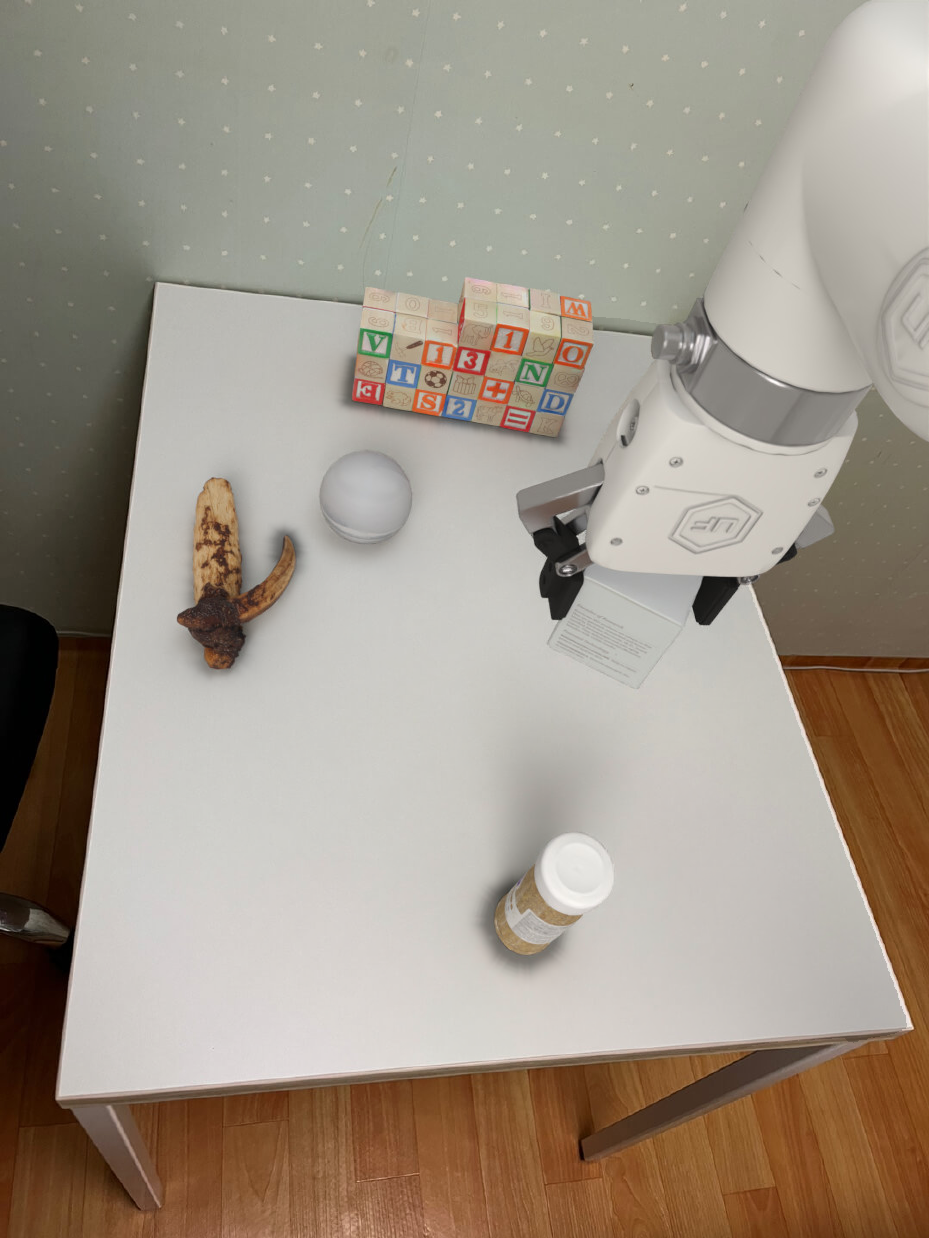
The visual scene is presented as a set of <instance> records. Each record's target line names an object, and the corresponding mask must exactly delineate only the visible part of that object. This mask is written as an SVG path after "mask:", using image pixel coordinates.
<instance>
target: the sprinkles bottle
mask: <svg viewBox="0 0 929 1238" xmlns="http://www.w3.org/2000/svg"><path fill="white" fill-rule="evenodd" d="M615 882H616V868H615V863H614V860H613V858H612V856H611V854H610V852H609V850H608V849H607V848H606V847H605V846H604V844H603V843H602V842H601V841H600V840H598V838H596V837H594V836H592V835H590V834H588V833H585V832H580V831H568V832H567V831H566V832H564V833H563V832H562V833H560V834H558V835H556V836H554V837H553V838H551V840H550V841H548V843H547V844H546V845H545V846H544V847H543V848H542V850H541V851H540V852H539V854H538V855H537V857H536V860H535V863H534V864H533V865H532V866H531V867H529V868H528V870H527V871H526V872H525V873H524V874H523V876H522V877H521V878H520V879H518V881H517V882H516V883H515V884H514V885H513V887H511V889H510V890H509V891H508V893H505V894H504V895H503V897H502V898H501V899H499V902H498V903H497V904H496V908H495V910H494V919H493V924H494V927H495V932H496V934H497V936H498V938H499V940H500V941H501V942H502V943H503V945H504V946H505V947H506V948H507V949H508V950H510V951H512V952H514V953H516V954H518V955H521V956H522V955H523V956H525V955H526V956H532V955H536V954H538V953H541V952H542V951H543V950H545V949H546V948H547V947H548V946H549V945H550V944H551V942H553V941H554V940H556V939H558V937H560V936H562V934H564V933H565V932H566V931H567V930H568V929H570V928H571V927H572V926H573V925H575V924H576V923H577V922H578V921H579V920H580V919H581V918H583V916H584V915H586V914H589V913H591V912H593V911H594V910H596V909H597V908H598V907H599V906H602V904H603V903H604V902H605V901H606V900H607V899H608V898H609V896H610V895H611V893H612V892H613V890H614V886H615Z"/></svg>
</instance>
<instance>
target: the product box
mask: <svg viewBox="0 0 929 1238" xmlns="http://www.w3.org/2000/svg"><path fill="white" fill-rule="evenodd" d="M583 575H584V583H583V585H582V587H581V589H580V591H579V593H578V595H577V597H576V599H575V601H574V602H573V604H572V606H571V608H570V610H569V612H568V614H567V616H566V618H563V619H562V620H557V622H556V624H555V626H554V628H553V630H552V632H551V634H550V635H549V638H548V640H547V642H546V645H547V646H548V648H550V649H551V650H552V651H553V650H554V651H555V652H557V653H559V654H562V655H564V656H566V657H568V658H570V659H572V660H575V661H576V662H578V663H581V664H583V665H585V666H587V667H589V668H591V669H593V670H595V671H598V672H600V673H601V674H603V675H604V676H608V677H609V678H611V679H613V680H615V681H617V682H619V683H621V684H623V685H625V686H628V687H630V688H632V689H634V690H639V689H640V688H641V686H642V684H644V681H646V680H647V678H648V676H649V675H650V673H651V672H652V670H654V668H655V667H656V665H657V664H658V662H659V661H660V660H661V659H662V658H663V656H664V654H666V652H667V651H668V649H669V648H670V647H671V646H672V644H673V643H674V642H675V640H676V639H677V638H678V637H679V635H680V634H681V633H682V631H683V630H684V628H685V627H686V625H687V622H688V619H689V616H690V613H691V610H692V605H693V602H694V600H695V597H696V595H697V592H698V590H699V588H700V585H701V582H702V579H703V576H695V575H673V574H655V573H638V572H625V571H617V570H612V569H608V568H605V567H602V566H600V565H597V564H596V563H594V564H592V565H590V566H589V567H587V568H585V569H584V570H583Z"/></svg>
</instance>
